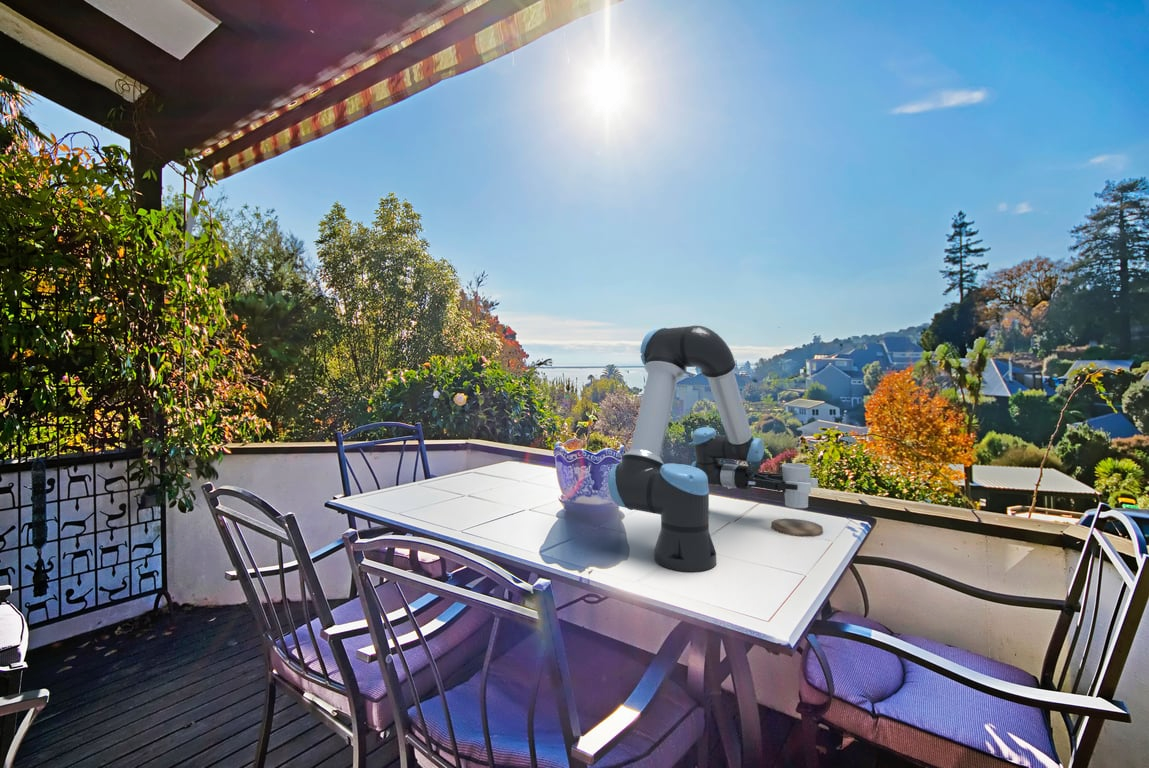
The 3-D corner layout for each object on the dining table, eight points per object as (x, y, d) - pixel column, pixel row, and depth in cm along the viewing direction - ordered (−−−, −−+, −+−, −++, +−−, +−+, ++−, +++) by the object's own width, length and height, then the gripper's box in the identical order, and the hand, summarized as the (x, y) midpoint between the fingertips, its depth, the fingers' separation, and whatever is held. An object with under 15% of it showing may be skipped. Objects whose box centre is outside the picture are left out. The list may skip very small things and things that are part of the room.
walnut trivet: (792, 538, 137) (792, 533, 137) (761, 524, 151) (761, 520, 151) (833, 534, 141) (833, 529, 141) (800, 520, 154) (800, 516, 154)
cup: (807, 510, 141) (807, 469, 140) (778, 506, 145) (778, 466, 145) (813, 504, 147) (813, 464, 147) (785, 500, 152) (785, 462, 152)
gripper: (749, 482, 165) (822, 491, 151) (725, 494, 150) (804, 505, 135) (748, 460, 165) (822, 467, 151) (724, 470, 150) (804, 478, 135)
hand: (813, 485), depth 143 cm, fingers closed on cup, 7 cm apart
